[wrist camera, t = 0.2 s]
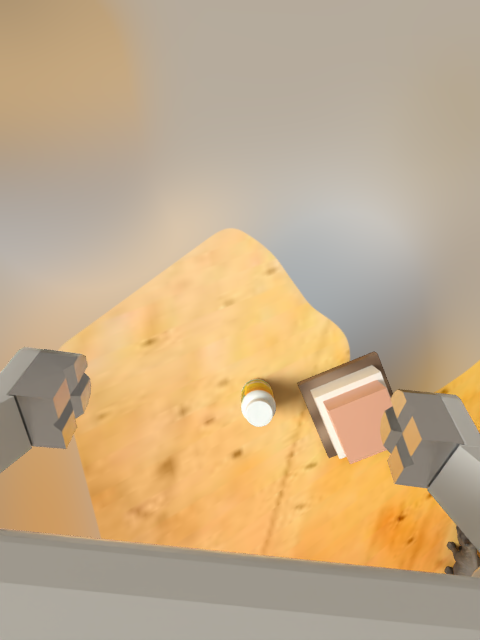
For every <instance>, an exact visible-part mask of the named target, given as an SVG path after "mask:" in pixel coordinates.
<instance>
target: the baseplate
mask: <svg viewBox="0 0 480 640" xmlns="http://www.w3.org/2000/svg"><path fill="white" fill-rule="evenodd" d="M371 365H373V366H374V367H375V368H377V369H378V370H379V371H380V372H381V374H382V377H383V379H384V382H385V384H386V387H387V389H388V392H389V395H390V397H392V395H393V393H392V390H391V388H390V385H389V382H388V380H387V377H386V375H385V372H384V369H383V367H382V364H381V362H380V359H379V357H378V354H377V353H376V352H372V353H369V354H367V355H364V356H362V357H359V358H357V359H354V360H352V361H349V362H347V363H345V364H342V365H340V366H337V367H335V368H332V369H330V370H327V371H325V372H322V373H320V374H318V375H315V376H313V377H310V378H308V379H305V380H303V381H300V382H298V383H297V384H298V386H299V389H300V391H301V393H302V396H303V398H304V400H305V403H306V405H307V408H308V410H309V412H310V415H311V417H312V419H313V422H314V424H315V427H316V429H317V431H318V434H319V436H320V438H321V441H322V443H323V446H324V448H325V450H326V453H327V455H328V457H329V458H331V457H333V456H336V455H338V454H337V452H336V450H335V449H334V446H333V444H332V442H331V439H330V437H329V434H328V432H327V430H326V427H325V425H324V422H323V420H322V418H321V415H320V413H319V410H318V408H317V406H316V403H315V401H314V398H313V396H312V394H311V391H310V390H312V389H314V388H317V387H319V386H322V385H324V384H326V383H329V382H331V381H334V380H336V379H339V378H341V377H344V376H346V375H349V374H351V373H354V372H356V371H358V370H361V369H363V368H366V367H368V366H371Z"/></svg>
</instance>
